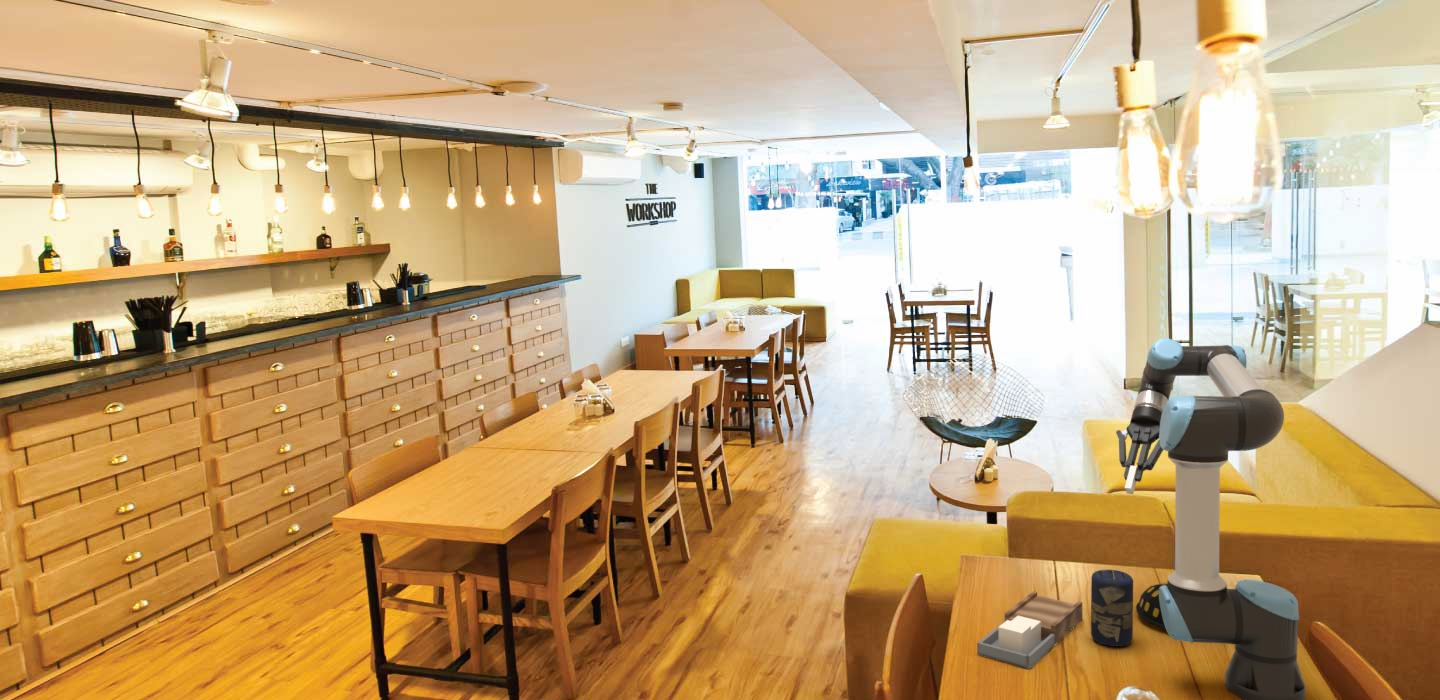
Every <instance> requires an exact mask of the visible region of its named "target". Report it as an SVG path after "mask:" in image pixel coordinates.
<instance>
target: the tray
mask: <svg viewBox="0 0 1440 700" xmlns="http://www.w3.org/2000/svg"><path fill="white" fill-rule="evenodd" d="M1004 622H1005V621H1003V622H1001V624H999V625H998V626H996V627H995V628H993V630H991V632H989V633H988V634H987V635H985V636H984V637H983V638H982V639H980V640H979V641H977V643H976V645H977V646H976V647H977V648H976V649H977V654H979V655H978V656H980V655H982V656H981V657H984V656H986V657H985V658H987V657H989V658H988V659H991V658H992V660H994V661H995V660H996V661H999V662H1002V663H1006V664H1009V665H1012V666H1017V667H1020V668H1024V669H1027V670H1030V669H1031V668H1032V667H1034V666H1035V665H1036V664H1037V663H1038V662H1039V661H1041V659H1042V658H1043V657H1044V656H1045V655H1047V652H1048V651H1049V650H1050V649H1051V648H1052V647H1053V646H1054V645H1055V634H1050V635H1049V636H1048V637H1047V638H1046V639H1045V640H1044V641H1042V640H1041V641H1040V642H1039V643H1038V644H1037V645H1036V646H1034V647H1033V648H1032V649H1031V650H1030V651H1029V652H1028V653H1027V654H1026V655H1025V654H1022V653H1018V652H1014V651H1011V650H1007V649H1003V648H1000V647H999V632H998V627H999V626H1000V625H1002V624H1003V623H1004ZM1055 646H1056V645H1055ZM1055 646H1054V647H1055ZM1054 647H1053V648H1054ZM1053 648H1052V649H1053ZM1052 649H1051V650H1052ZM1051 650H1050V651H1051ZM1050 651H1049V652H1050ZM1049 652H1048V653H1049Z"/></svg>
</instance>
